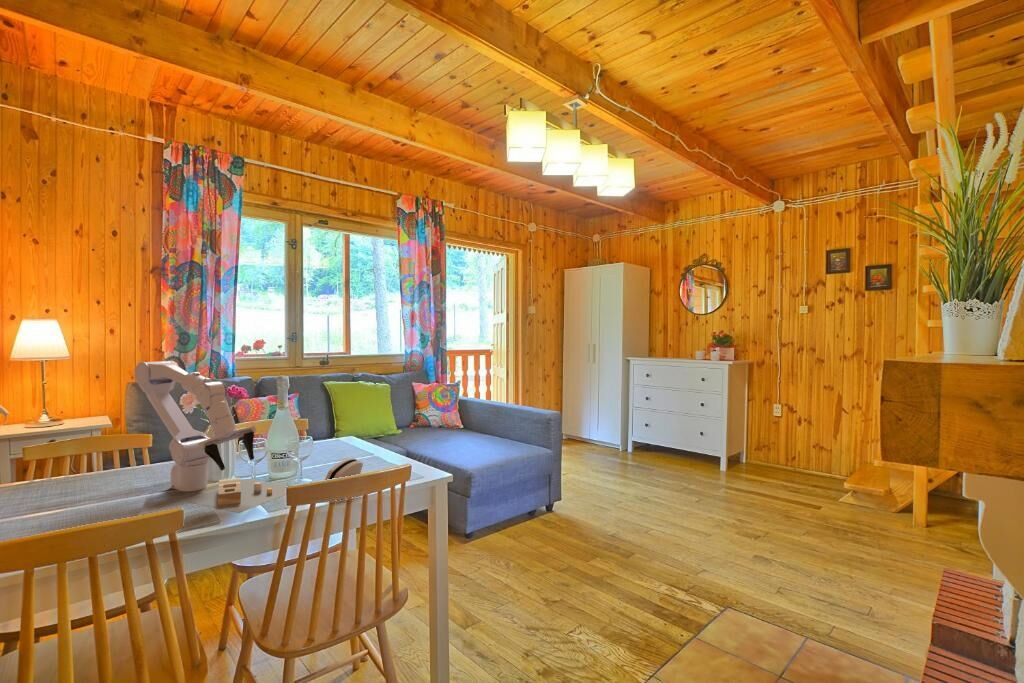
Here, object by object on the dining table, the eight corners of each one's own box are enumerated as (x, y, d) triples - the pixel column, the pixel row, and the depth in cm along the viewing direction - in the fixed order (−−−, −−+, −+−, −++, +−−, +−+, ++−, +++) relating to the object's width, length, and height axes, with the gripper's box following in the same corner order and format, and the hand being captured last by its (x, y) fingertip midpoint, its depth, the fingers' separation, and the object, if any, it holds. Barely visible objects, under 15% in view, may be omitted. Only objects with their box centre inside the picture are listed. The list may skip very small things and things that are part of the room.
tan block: (219, 490, 146) (219, 480, 146) (240, 487, 148) (240, 477, 148) (217, 505, 134) (218, 494, 134) (240, 502, 136) (240, 491, 136)
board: (179, 505, 137) (180, 491, 137) (247, 483, 157) (247, 470, 157) (239, 518, 129) (239, 503, 129) (302, 493, 150) (302, 480, 150)
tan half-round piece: (344, 479, 165) (354, 451, 164) (356, 485, 164) (366, 457, 163) (314, 495, 148) (325, 465, 147) (327, 502, 147) (338, 471, 146)
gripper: (194, 424, 135) (211, 470, 132) (251, 408, 145) (267, 451, 142) (191, 432, 140) (207, 476, 137) (246, 415, 150) (262, 457, 147)
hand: (238, 464), depth 140 cm, fingers open, 7 cm apart
